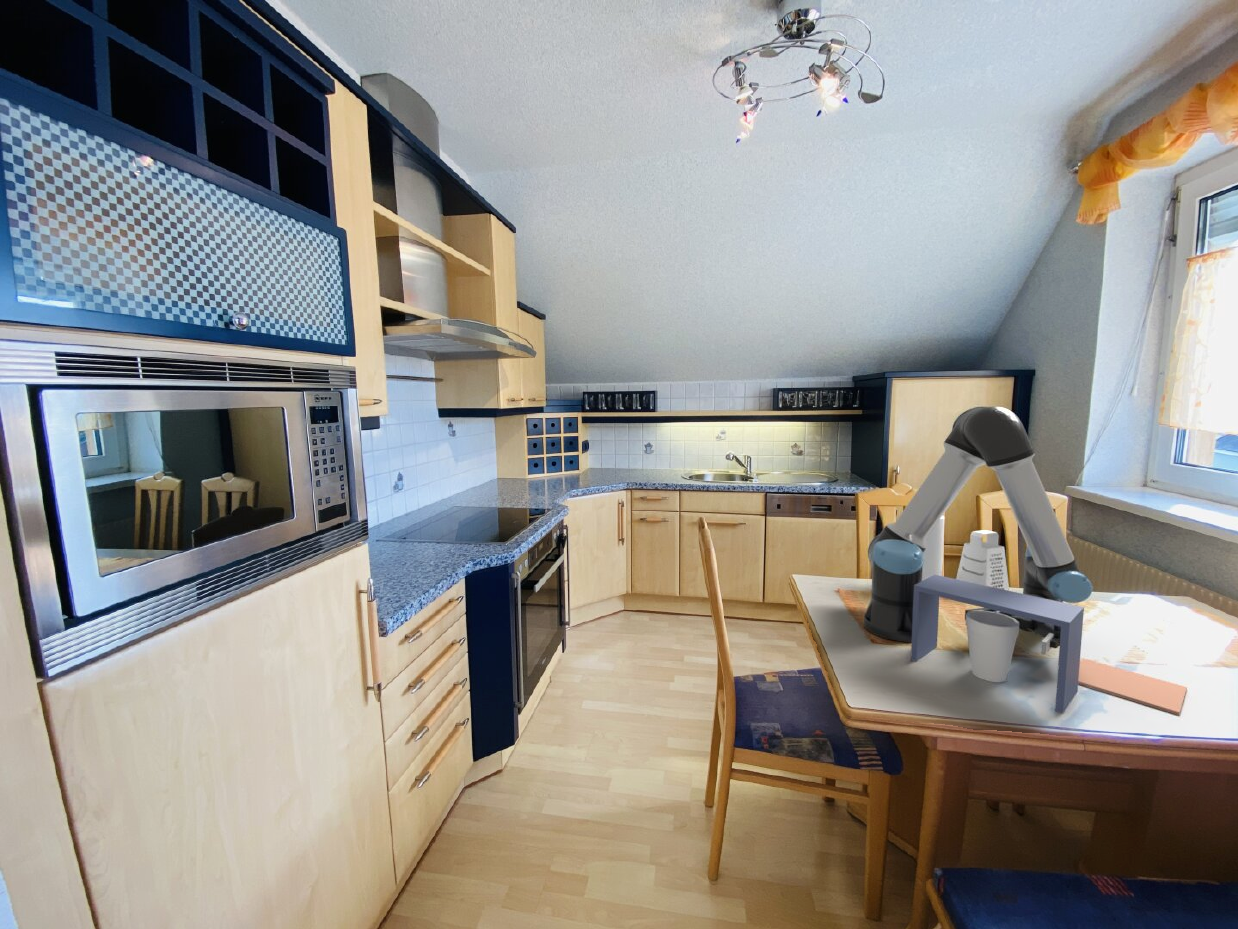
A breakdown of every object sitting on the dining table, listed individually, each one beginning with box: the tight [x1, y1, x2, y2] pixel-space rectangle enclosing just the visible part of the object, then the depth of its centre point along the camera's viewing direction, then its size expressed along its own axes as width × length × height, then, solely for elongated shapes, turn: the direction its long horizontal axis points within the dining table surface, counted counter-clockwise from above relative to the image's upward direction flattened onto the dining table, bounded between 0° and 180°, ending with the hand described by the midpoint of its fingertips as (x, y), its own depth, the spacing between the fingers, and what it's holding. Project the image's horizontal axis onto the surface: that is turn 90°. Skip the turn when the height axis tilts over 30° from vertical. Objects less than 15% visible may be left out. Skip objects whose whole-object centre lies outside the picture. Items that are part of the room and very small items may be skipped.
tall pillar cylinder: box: [922, 515, 945, 581], centre depth 162 cm, size 11×11×25 cm
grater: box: [955, 529, 1010, 591], centre depth 159 cm, size 10×10×20 cm
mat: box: [1078, 657, 1188, 716], centre depth 105 cm, size 16×14×1 cm
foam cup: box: [964, 610, 1020, 683], centre depth 110 cm, size 10×9×13 cm
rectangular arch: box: [910, 575, 1085, 714], centre depth 109 cm, size 27×12×18 cm, turn 37°
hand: (1004, 637), depth 112 cm, fingers open, 13 cm apart
